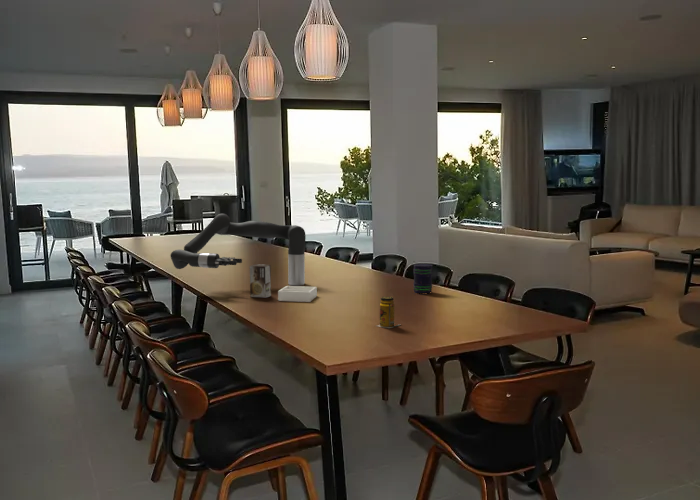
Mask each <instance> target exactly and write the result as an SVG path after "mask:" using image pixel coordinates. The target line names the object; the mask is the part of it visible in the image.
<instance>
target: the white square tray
mask: <svg viewBox="0 0 700 500" xmlns="http://www.w3.org/2000/svg"><path fill="white" fill-rule="evenodd" d="M317 290H318V288H317V286H304V285H286V286H284V287H282V288H281V289H279V290H277V301H278V302H279V301H280V302H299V303H300V302H302V303H305V302H306V303H311V302H312V301H313V300H315V298H317V295H318V293H317V292H318V291H317Z"/></svg>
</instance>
